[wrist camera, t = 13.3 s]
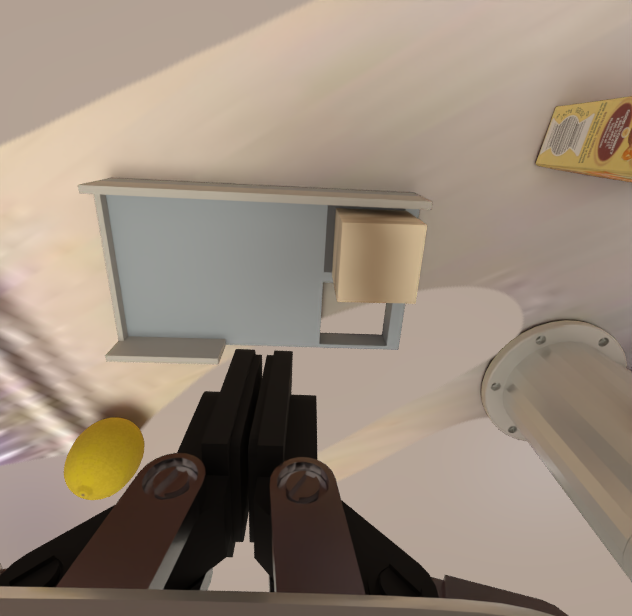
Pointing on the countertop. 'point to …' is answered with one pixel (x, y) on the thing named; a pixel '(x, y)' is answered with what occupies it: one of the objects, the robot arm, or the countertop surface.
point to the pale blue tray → (226, 266)
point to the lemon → (104, 458)
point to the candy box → (591, 139)
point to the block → (377, 255)
